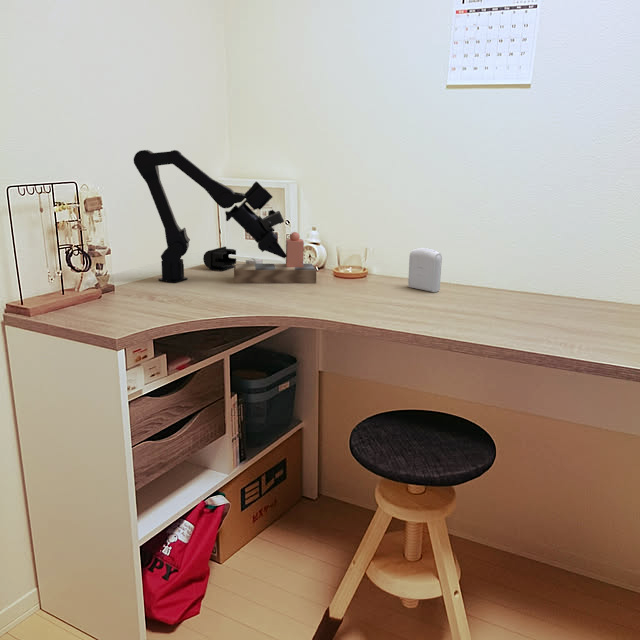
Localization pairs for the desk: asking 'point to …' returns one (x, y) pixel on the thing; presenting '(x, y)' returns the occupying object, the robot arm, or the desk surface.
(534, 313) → the desk surface
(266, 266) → the track
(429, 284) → the photo printer
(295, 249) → the pawn
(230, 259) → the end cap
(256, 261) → the die
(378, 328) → the desk surface
